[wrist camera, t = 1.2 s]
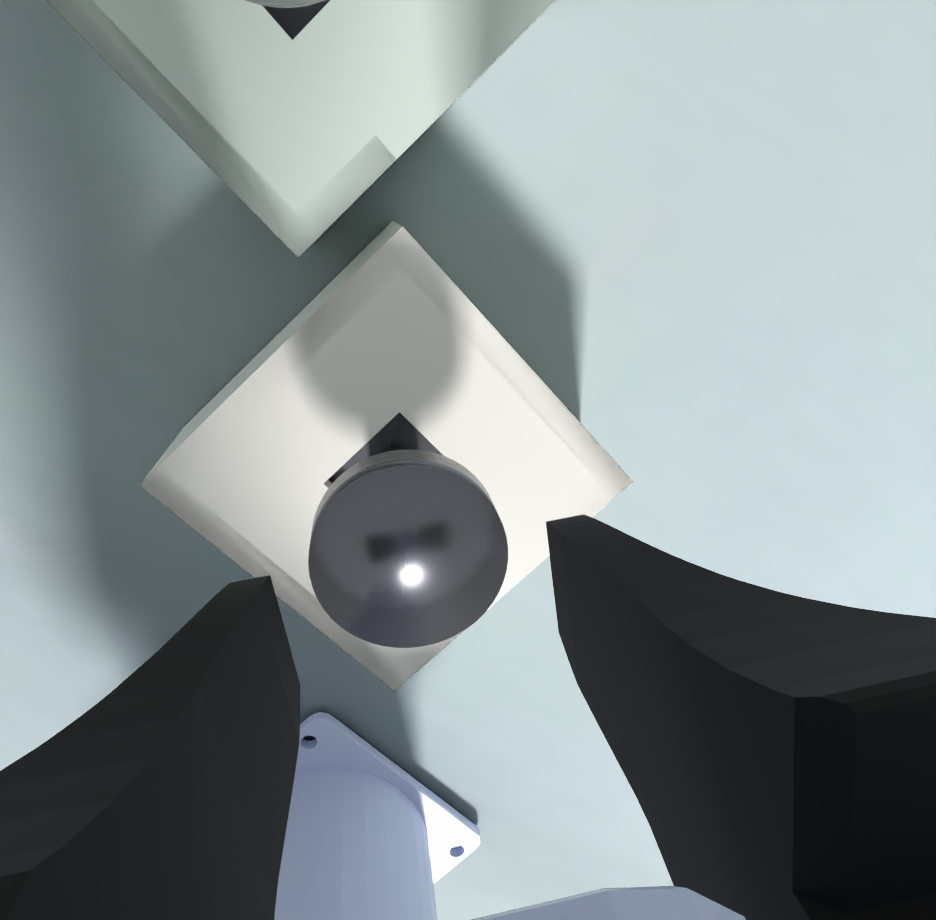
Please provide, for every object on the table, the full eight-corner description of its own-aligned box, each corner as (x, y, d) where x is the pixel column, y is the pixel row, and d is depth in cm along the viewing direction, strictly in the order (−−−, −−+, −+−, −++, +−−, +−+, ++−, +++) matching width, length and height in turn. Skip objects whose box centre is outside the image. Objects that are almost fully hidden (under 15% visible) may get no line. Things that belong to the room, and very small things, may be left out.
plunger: (393, 599, 20) (406, 731, 15) (241, 466, 18) (197, 566, 13) (542, 465, 19) (606, 557, 14) (397, 314, 17) (414, 359, 12)
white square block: (387, 602, 23) (394, 691, 19) (183, 426, 21) (139, 485, 16) (580, 428, 22) (633, 481, 18) (392, 220, 20) (402, 226, 15)
